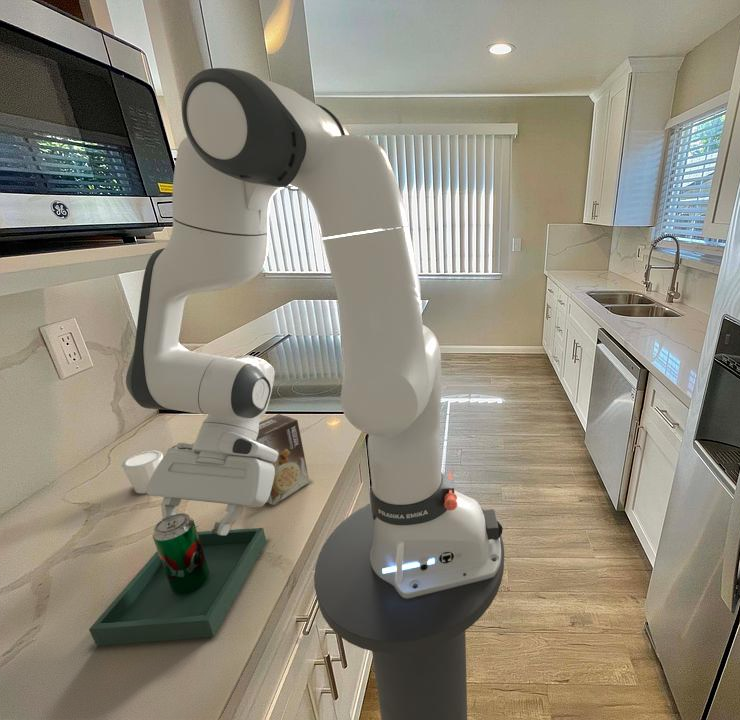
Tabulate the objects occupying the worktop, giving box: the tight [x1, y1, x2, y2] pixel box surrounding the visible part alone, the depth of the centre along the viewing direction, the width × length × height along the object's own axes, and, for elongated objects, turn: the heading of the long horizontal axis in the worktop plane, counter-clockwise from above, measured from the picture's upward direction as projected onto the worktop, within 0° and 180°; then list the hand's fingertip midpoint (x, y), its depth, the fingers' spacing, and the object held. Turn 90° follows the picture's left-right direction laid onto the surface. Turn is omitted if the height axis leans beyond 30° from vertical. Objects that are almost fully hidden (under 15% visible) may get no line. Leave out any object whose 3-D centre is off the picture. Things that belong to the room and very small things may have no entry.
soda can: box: [152, 512, 209, 594], centre depth 61 cm, size 5×5×12 cm
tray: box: [88, 527, 267, 647], centre depth 63 cm, size 16×18×3 cm
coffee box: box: [256, 413, 310, 506], centre depth 84 cm, size 9×6×16 cm
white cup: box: [121, 450, 164, 494], centre depth 87 cm, size 7×7×7 cm
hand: (192, 531), depth 63 cm, fingers open, 8 cm apart
